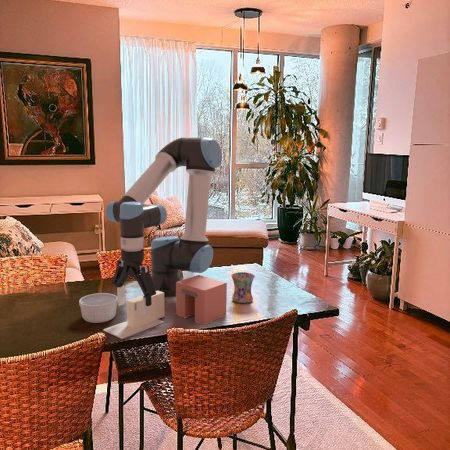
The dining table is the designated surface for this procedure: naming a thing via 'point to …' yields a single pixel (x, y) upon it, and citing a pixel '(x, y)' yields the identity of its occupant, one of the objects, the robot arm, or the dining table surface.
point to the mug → (242, 287)
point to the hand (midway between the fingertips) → (133, 309)
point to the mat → (129, 329)
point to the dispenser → (201, 298)
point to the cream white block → (136, 310)
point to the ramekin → (98, 307)
